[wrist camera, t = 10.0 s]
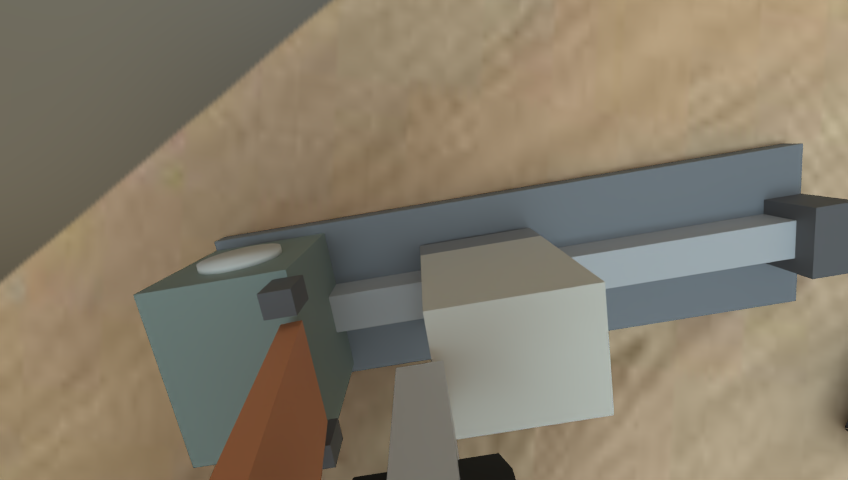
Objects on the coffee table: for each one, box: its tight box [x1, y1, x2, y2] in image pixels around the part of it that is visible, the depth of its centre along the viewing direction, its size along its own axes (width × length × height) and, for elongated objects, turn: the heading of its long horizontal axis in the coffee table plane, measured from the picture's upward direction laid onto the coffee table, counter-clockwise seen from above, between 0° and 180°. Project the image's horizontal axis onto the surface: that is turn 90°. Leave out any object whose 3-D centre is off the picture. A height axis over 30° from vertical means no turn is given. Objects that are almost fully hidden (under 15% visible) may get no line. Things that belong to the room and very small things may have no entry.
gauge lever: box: [209, 320, 328, 480], centre depth 11 cm, size 2×4×9 cm, turn 10°
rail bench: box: [133, 144, 848, 469], centre depth 19 cm, size 32×9×10 cm, turn 99°
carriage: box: [420, 228, 614, 440], centre depth 18 cm, size 6×5×9 cm
